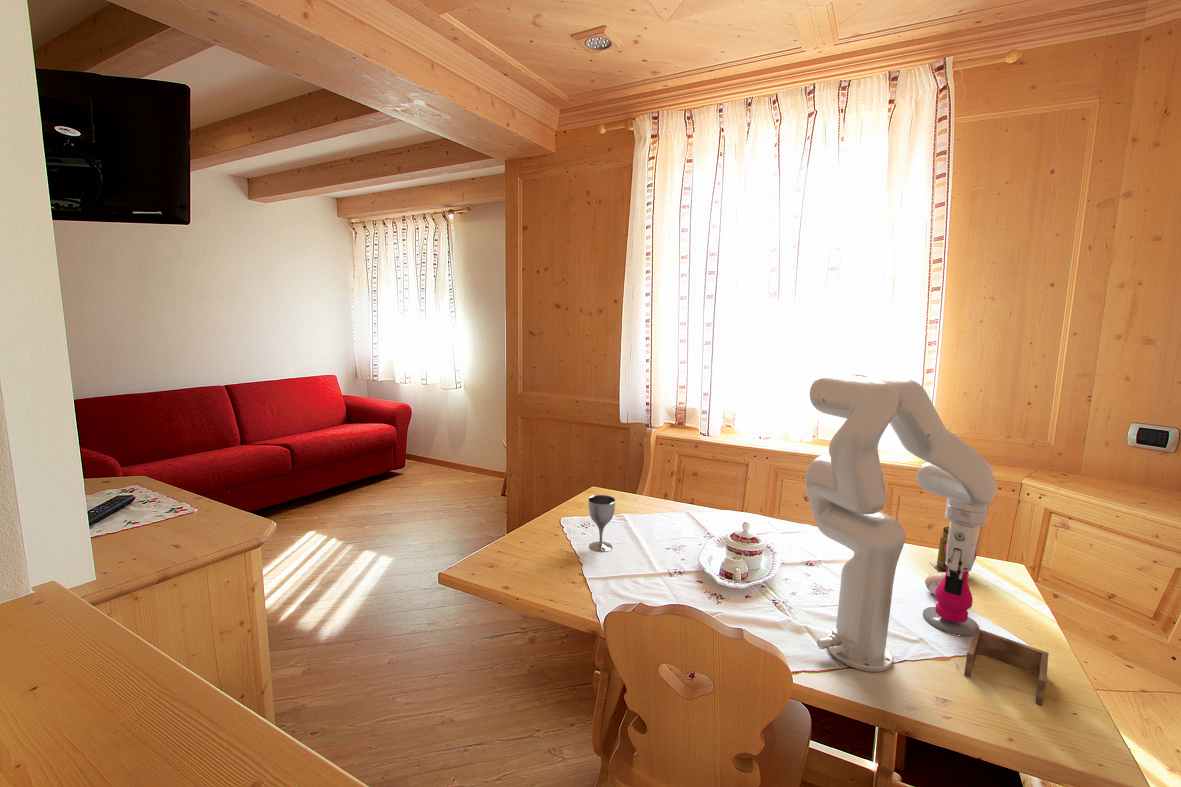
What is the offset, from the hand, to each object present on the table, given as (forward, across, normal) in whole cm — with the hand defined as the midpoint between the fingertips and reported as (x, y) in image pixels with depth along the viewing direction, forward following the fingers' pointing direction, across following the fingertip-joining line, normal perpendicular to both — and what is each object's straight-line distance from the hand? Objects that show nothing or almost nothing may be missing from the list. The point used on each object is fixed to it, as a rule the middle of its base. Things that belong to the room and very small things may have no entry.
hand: (954, 587), depth 122 cm
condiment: (+9, +30, +4) cm, 32 cm away
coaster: (+9, 0, 0) cm, 9 cm away
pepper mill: (+7, 0, 0) cm, 7 cm away
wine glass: (+9, -28, +84) cm, 90 cm away
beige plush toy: (+9, +13, +4) cm, 16 cm away
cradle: (+9, -14, -11) cm, 20 cm away
